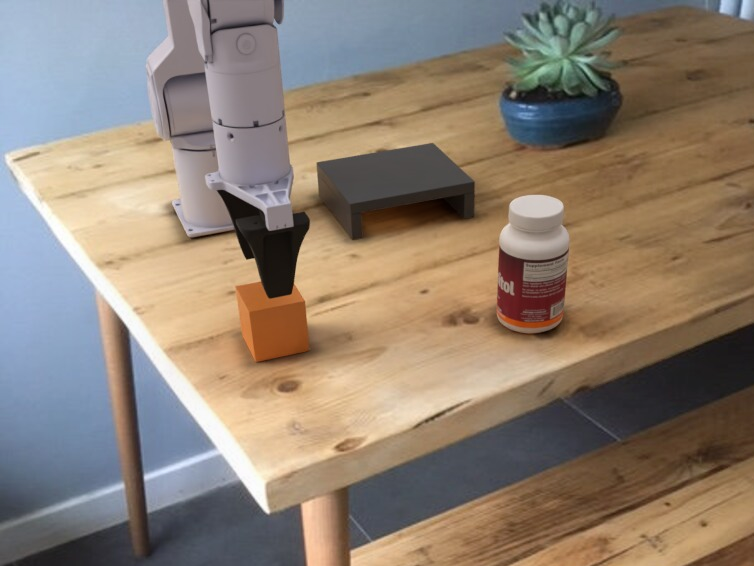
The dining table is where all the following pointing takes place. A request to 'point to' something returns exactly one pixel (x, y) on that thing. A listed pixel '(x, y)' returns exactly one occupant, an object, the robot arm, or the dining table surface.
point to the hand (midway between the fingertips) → (267, 275)
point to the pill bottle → (532, 265)
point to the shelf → (392, 183)
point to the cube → (272, 322)
